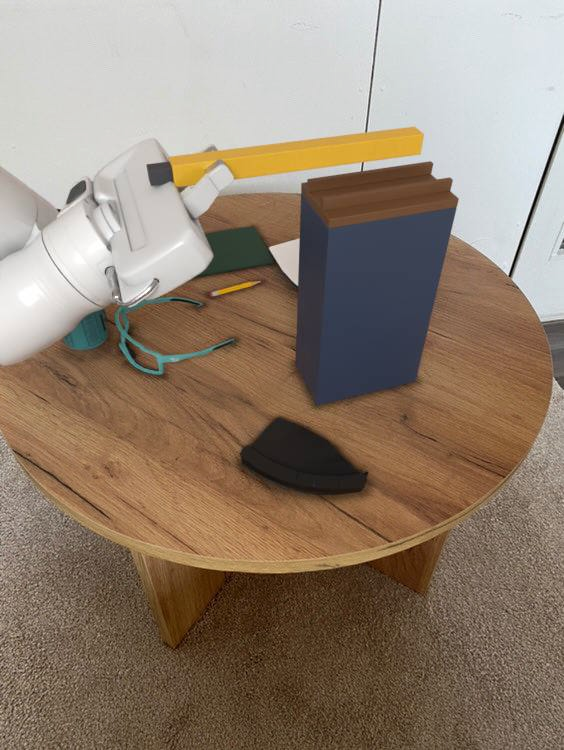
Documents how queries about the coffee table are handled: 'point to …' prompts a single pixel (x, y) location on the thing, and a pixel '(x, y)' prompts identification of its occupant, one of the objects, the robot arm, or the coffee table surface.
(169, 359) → the sunglasses
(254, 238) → the rubber mat
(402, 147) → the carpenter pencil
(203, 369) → the coffee table surface
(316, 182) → the blue tall block
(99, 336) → the beverage bottle
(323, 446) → the curved wedge
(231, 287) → the pencil
